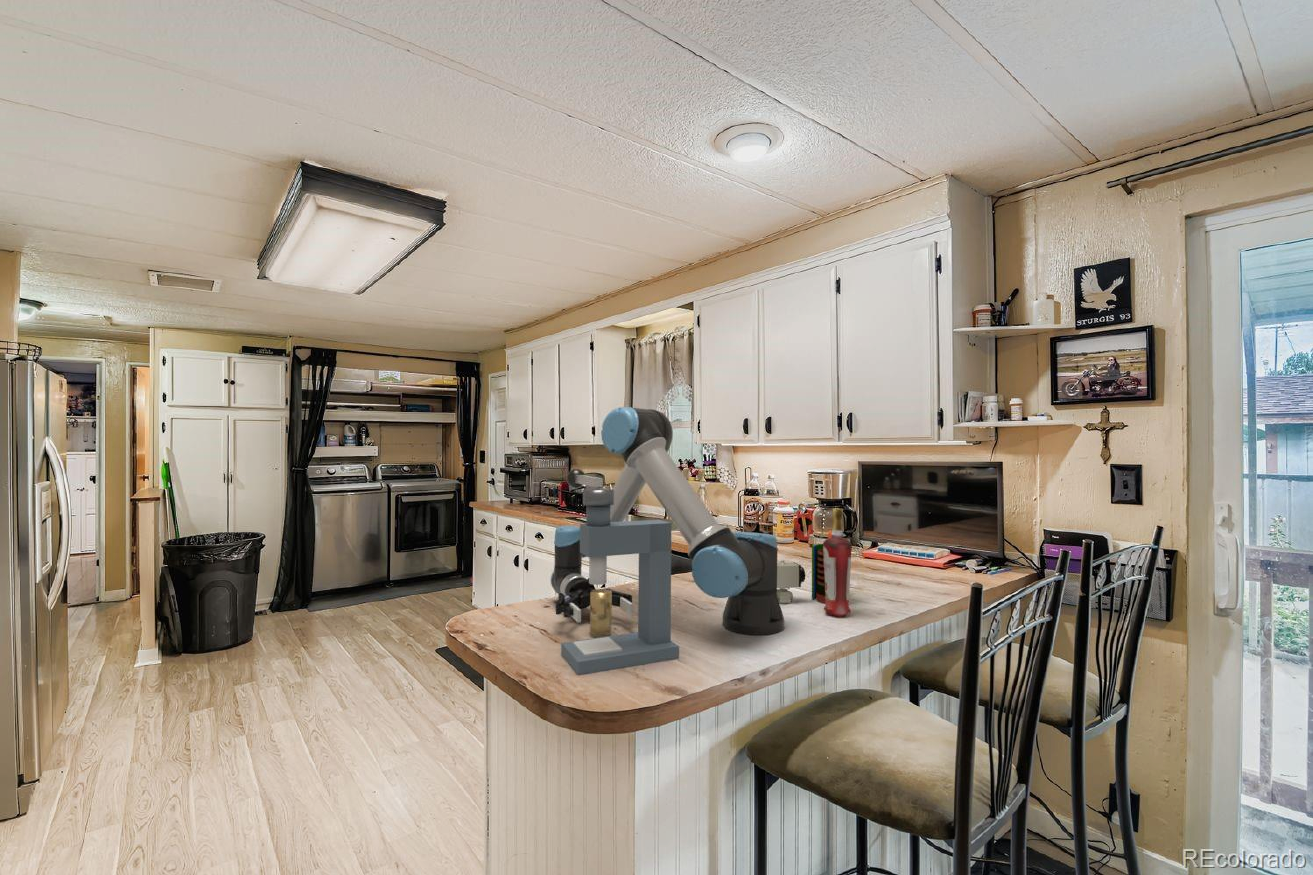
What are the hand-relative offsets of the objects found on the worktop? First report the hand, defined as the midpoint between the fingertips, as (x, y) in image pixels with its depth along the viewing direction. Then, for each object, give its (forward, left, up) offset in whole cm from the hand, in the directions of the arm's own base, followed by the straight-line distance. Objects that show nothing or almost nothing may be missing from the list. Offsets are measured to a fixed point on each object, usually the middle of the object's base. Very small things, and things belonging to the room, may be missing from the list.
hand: (606, 612), depth 134 cm
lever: (+3, +6, +26) cm, 27 cm away
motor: (-58, -40, -6) cm, 71 cm away
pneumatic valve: (-44, -37, -6) cm, 58 cm away
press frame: (-5, +10, -6) cm, 13 cm away
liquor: (-57, -26, -6) cm, 63 cm away
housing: (+2, -3, -6) cm, 7 cm away
